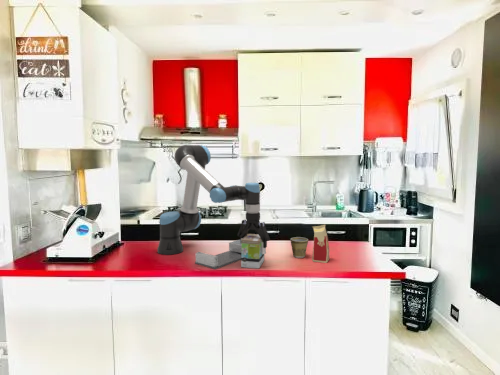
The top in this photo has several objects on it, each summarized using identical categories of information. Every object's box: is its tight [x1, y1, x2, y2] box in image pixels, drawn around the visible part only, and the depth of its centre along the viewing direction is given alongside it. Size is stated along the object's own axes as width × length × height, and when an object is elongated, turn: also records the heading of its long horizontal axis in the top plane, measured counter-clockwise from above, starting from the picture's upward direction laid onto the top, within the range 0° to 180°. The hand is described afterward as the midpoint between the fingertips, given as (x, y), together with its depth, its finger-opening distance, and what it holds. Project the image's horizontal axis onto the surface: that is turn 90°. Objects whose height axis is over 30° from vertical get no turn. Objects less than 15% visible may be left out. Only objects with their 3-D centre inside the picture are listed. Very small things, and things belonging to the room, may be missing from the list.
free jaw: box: [228, 239, 241, 253], centre depth 207 cm, size 14×10×4 cm
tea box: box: [240, 233, 266, 269], centre depth 186 cm, size 15×10×15 cm, turn 168°
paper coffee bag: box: [311, 224, 330, 264], centre depth 192 cm, size 9×9×20 cm
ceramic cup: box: [290, 236, 309, 259], centre depth 201 cm, size 13×10×10 cm
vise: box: [194, 250, 241, 270], centre depth 197 cm, size 15×38×6 cm, turn 141°
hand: (253, 251), depth 186 cm, fingers open, 13 cm apart
